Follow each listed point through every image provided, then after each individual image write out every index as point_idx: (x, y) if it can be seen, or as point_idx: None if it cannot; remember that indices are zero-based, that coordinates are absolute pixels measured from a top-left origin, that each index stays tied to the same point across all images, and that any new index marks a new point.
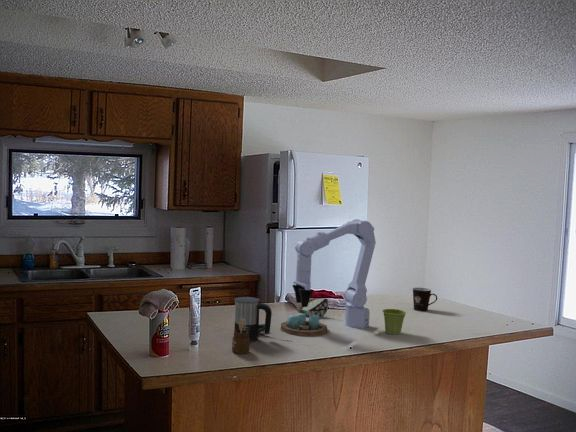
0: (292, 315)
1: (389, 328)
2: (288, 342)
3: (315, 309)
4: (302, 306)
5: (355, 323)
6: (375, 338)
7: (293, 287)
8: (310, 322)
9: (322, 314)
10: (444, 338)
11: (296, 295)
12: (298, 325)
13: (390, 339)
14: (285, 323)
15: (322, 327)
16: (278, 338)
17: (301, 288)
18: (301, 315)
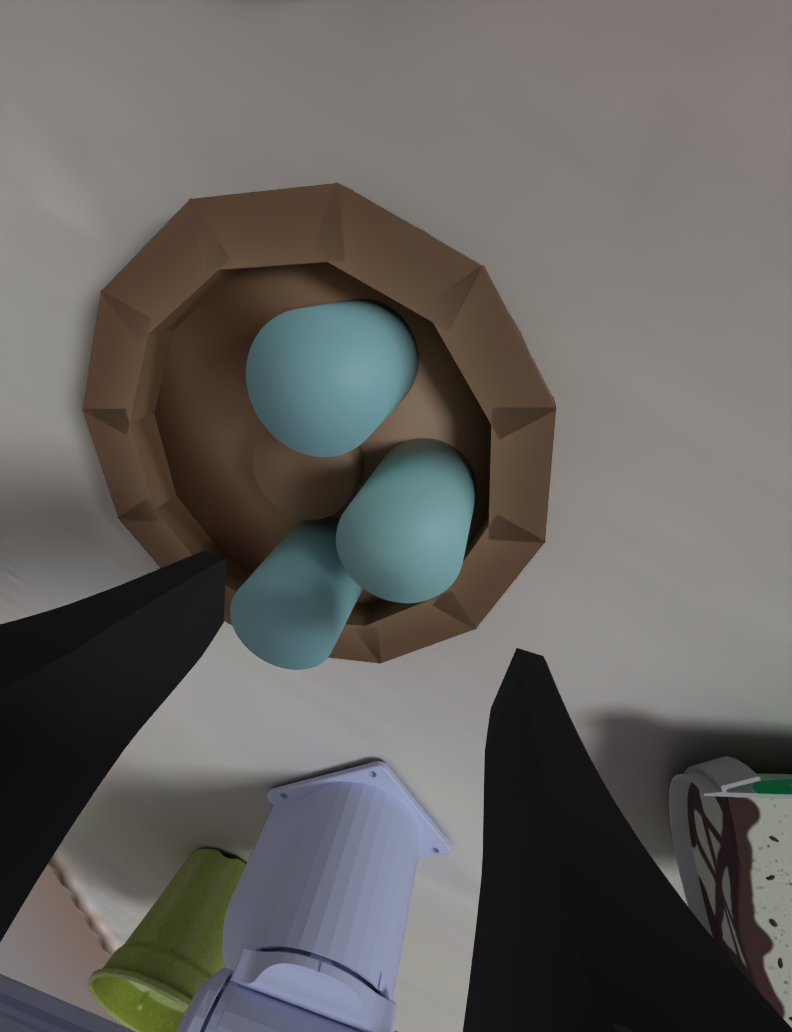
0: (367, 411)
1: (184, 876)
2: (3, 100)
3: (725, 862)
4: (195, 555)
5: (296, 825)
6: (129, 750)
7: (692, 979)
8: (287, 547)
9: (696, 858)
10: (126, 929)
11: (532, 753)
12: (388, 455)
13: (111, 788)
14: (451, 321)
15: (227, 589)
16: (141, 41)
17: (489, 1022)
18: (343, 523)
